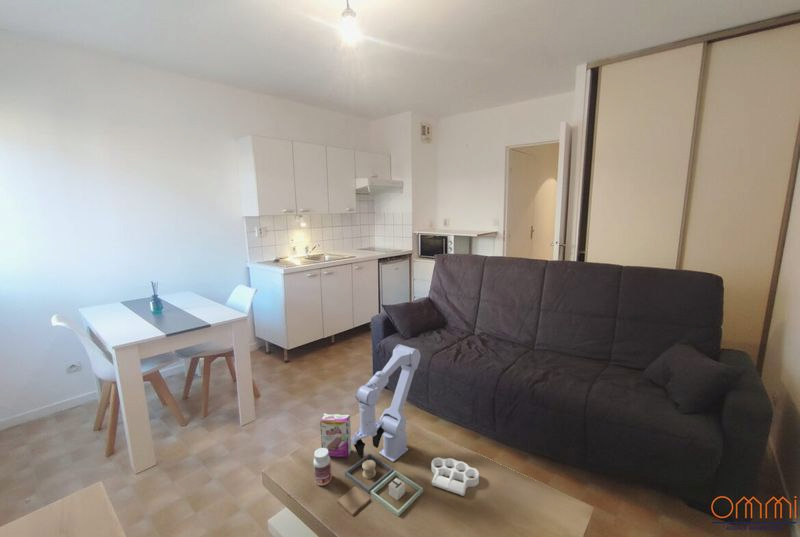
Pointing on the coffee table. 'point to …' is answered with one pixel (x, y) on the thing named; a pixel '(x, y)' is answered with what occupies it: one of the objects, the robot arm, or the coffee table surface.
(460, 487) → the knuckle duster
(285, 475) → the coffee table surface
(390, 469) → the charcoal tray
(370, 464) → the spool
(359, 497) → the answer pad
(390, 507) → the green tray
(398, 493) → the letter cube
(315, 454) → the pill bottle
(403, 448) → the robot arm
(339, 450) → the candy bar box
